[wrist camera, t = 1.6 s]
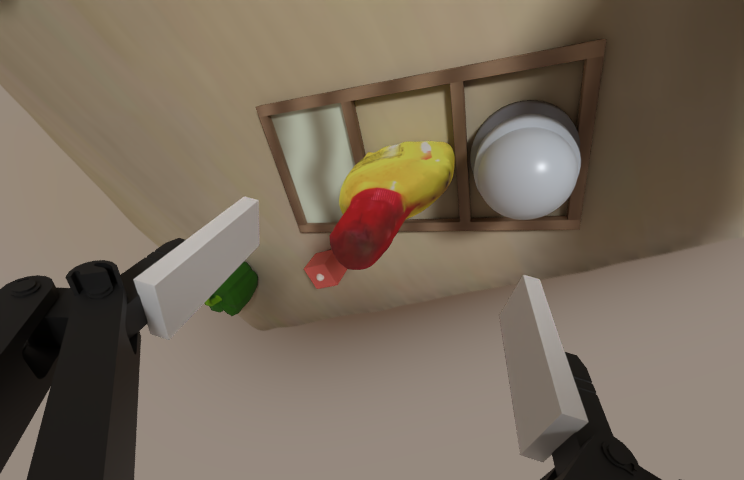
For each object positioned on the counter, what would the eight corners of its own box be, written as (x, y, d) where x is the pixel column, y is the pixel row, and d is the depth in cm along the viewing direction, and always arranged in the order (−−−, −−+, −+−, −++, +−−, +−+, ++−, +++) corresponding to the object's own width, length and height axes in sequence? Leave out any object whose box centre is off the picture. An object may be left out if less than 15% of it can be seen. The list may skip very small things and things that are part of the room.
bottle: (455, 121, 34) (416, 206, 18) (466, 176, 37) (441, 291, 21) (356, 147, 39) (261, 232, 24) (373, 194, 42) (298, 297, 26)
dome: (580, 105, 28) (603, 130, 22) (569, 197, 32) (585, 240, 26) (474, 119, 31) (467, 144, 25) (477, 201, 36) (472, 240, 29)
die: (335, 248, 49) (322, 266, 46) (347, 268, 51) (335, 287, 47) (315, 253, 51) (301, 271, 48) (327, 272, 53) (315, 291, 49)
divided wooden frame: (603, 38, 27) (608, 39, 26) (577, 224, 36) (580, 231, 35) (260, 105, 40) (253, 107, 39) (304, 228, 49) (299, 234, 48)
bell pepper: (259, 295, 63) (224, 335, 55) (223, 272, 62) (183, 309, 54) (270, 270, 57) (233, 310, 49) (230, 245, 57) (187, 281, 49)
